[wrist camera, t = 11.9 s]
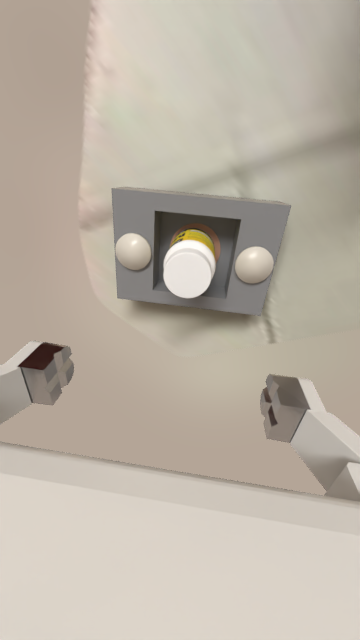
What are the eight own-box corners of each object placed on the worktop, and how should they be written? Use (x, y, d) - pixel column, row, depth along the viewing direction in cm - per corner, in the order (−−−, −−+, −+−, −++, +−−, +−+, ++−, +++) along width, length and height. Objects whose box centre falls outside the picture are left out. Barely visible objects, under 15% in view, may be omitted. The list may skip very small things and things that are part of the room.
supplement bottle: (182, 219, 26) (173, 235, 19) (222, 239, 26) (228, 263, 19) (164, 259, 28) (150, 288, 21) (201, 277, 29) (199, 311, 22)
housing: (280, 201, 25) (292, 206, 21) (255, 300, 30) (261, 317, 27) (125, 186, 26) (109, 188, 22) (127, 285, 31) (116, 299, 28)
